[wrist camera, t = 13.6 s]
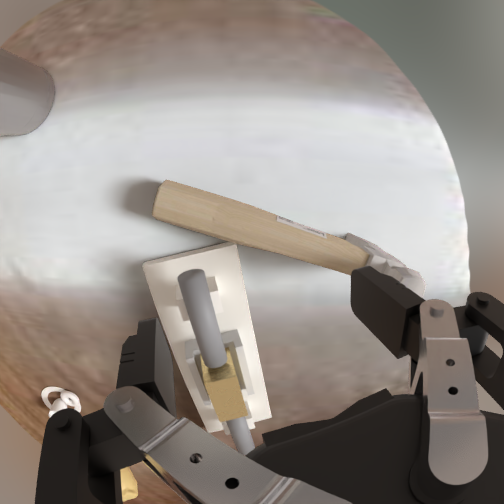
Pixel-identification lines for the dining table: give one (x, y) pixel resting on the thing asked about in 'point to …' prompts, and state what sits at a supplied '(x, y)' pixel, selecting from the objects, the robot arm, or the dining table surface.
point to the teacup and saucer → (60, 400)
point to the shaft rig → (210, 330)
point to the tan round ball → (128, 484)
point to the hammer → (274, 233)
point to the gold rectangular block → (224, 390)
